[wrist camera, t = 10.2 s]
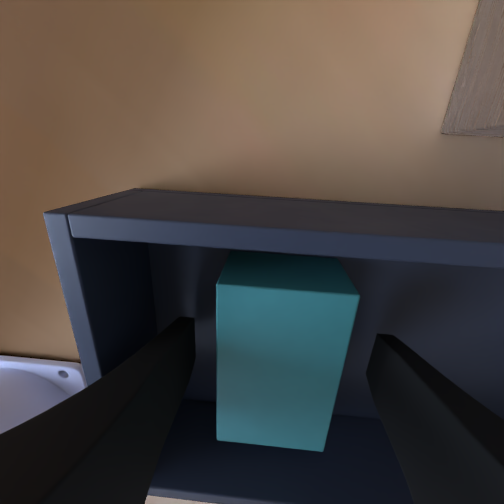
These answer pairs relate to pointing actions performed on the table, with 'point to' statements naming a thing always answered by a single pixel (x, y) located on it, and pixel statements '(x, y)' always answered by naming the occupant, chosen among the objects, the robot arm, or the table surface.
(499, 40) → the silver metal block
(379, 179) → the table surface
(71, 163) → the table surface
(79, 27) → the table surface
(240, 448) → the box
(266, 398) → the block
